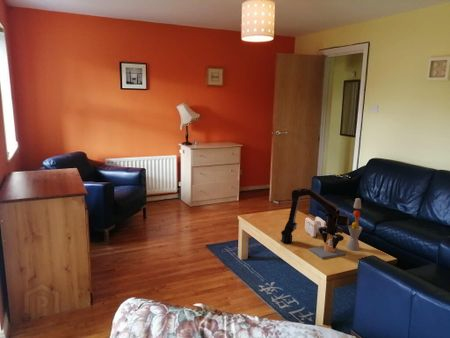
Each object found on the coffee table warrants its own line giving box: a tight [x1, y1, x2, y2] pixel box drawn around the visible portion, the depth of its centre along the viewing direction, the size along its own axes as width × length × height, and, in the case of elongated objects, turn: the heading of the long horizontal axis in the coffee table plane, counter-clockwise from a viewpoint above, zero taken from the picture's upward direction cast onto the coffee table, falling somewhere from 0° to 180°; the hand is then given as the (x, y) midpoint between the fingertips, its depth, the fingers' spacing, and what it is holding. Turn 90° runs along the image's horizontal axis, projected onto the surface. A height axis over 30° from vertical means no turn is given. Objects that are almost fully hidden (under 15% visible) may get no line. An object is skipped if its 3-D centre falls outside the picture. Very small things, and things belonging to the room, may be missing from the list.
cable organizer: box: [304, 216, 327, 238], centre depth 262 cm, size 15×11×12 cm
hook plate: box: [308, 238, 346, 260], centre depth 231 cm, size 18×14×9 cm
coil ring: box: [323, 241, 335, 252], centre depth 232 cm, size 7×7×4 cm
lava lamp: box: [346, 197, 363, 252], centre depth 236 cm, size 9×9×35 cm
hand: (329, 245), depth 231 cm, fingers open, 9 cm apart
